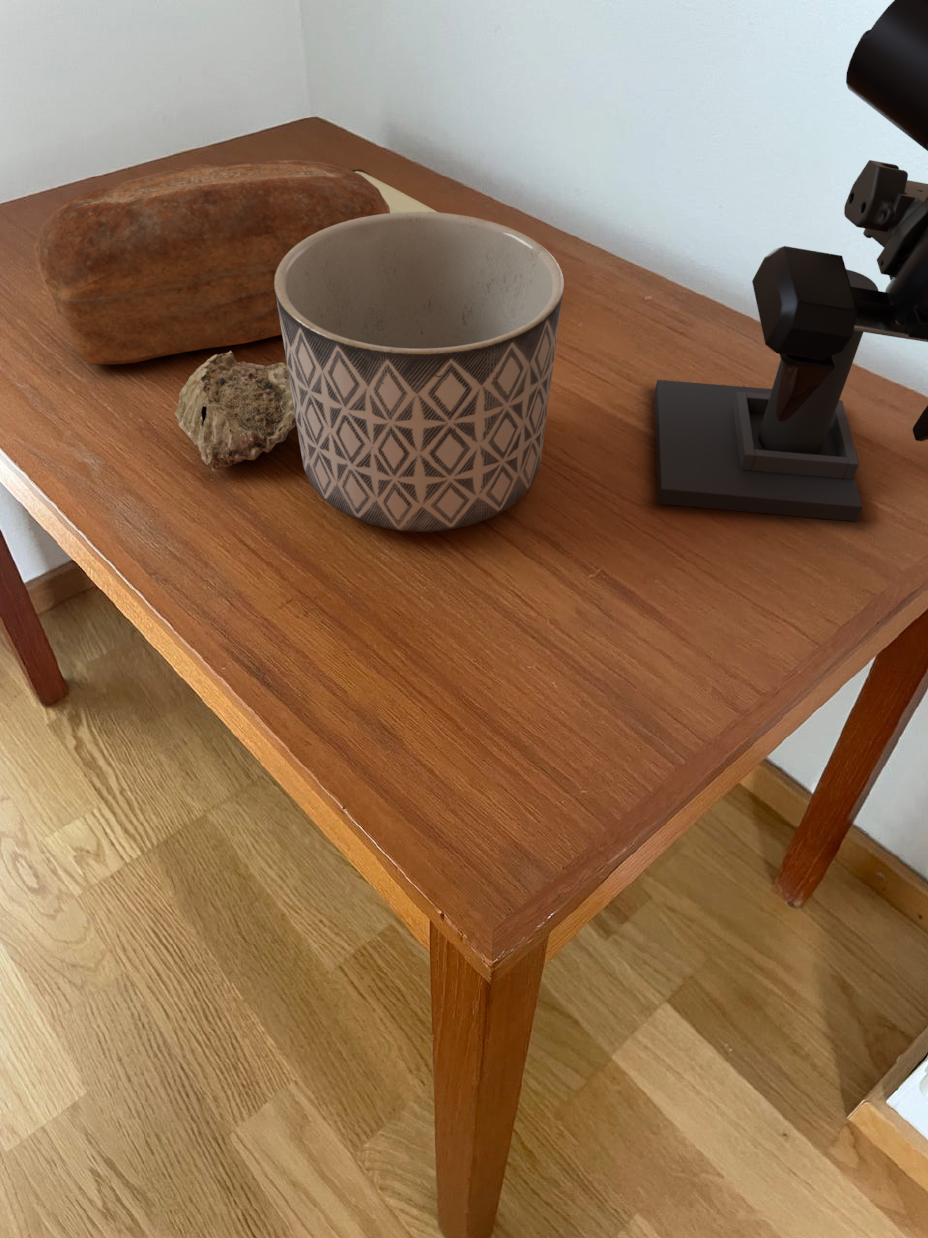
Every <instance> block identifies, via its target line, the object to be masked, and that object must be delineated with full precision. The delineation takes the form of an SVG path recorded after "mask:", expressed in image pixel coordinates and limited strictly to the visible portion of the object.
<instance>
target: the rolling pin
mask: <svg viewBox="0 0 928 1238" xmlns="http://www.w3.org/2000/svg"><path fill="white" fill-rule="evenodd" d="M347 169H348V170H351V171H353V172H356V173H358V174H361V175H362V176H363V177H364V178H365V179H367V180H368V181H369V182H370V183H372V184H373V185H374V186H375V187H376V188H378V189H379V191H380V193H381V195H382V197H383V198H384V200H385V201H386V202H387V204H388V205H389V209H390V213H398V212H438V211H436V209H433V208H431V207H429V206H428V205H426V204H424V203H422V202H420V201H418V200H416V199H415V198H413V197H411V196H409V195H407V194H405V193H403V192H402V191H400V190H398V189H396V188H395V187H392V186H390V185H388V184H387V183H385V182H382V181H381V180H379V179H377V178H375V177H373V176H372V175H371V174H370V173H368V172H367V171H366V170H364V169H363V168H360V167H355V168H353V167H352V168H347Z"/></svg>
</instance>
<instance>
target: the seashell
mask: <svg viewBox="0 0 928 1238" xmlns="http://www.w3.org/2000/svg"><path fill="white" fill-rule="evenodd" d="M173 414H174V415H175V416H176V418H177V421H178V427H179V428H180V429H181V430H183V432H184V433H185V434H186V436H187V437H188V438H189V439H190V441H192V442H193V444H194V447H196V448H197V449H198V450H199V452H200V458H201V460H202V462H204V464H205V465H206V466H207V467H208V468H210V469H211V470H212V472H215V473H217V472H218V471H220V470H221V469H223V468H224V467H225V468H227V467H231V466H232V465H235V464H238V463H241V462H243V461H244V460H249V461H254V460H256V459H257V458H258V457H259V456H260V455H261V454H262V453H263V452H264V453H266V454H269V453H270V452H271V451H272V450H273V448H274V447H275V446H276V445H277V444H278V443H283V442H284V441H285V440H286V438H287V437H288V433H289V432H290V431H291V430H292V429H294V428H297V424H296V417H295V411H294V405H293V399H292V392H291V386H290V380H289V374H288V368H287V364H286V363H285V362H277V363H274V364H270V365H267V366H265V365H264V364H263V365H262V364H255V363H253V362H245V361H244V360H243V361H241V362H238V361H237V360H236V358H235V355H234V353H233V352H232V350H229V352H224V353H219V354H214V355H213V356H210V358H208V359H206V361H205V362H204V363H202V364H201V365H200V366H198V368H196V369H195V371H194V372H193V373H192V374H191V375H190V376H189V378H188V380H187V381H186V383H185V384H184V386H183V387H182V388H181V389H180V392H179V394H178V405H177V407H176V409H175V411H174V413H173Z"/></svg>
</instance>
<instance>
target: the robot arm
mask: <svg viewBox="0 0 928 1238" xmlns="http://www.w3.org/2000/svg"><path fill="white" fill-rule="evenodd" d="M845 74H846V75H845V84H846V87H847V89H848V90H849V91H850V92H852V93H853V94H854V95H855V96H856V97H858V98H859V99H860V100H862V101H863V102H864V103H866V104H867V105H868V106H870V108H872V109H873V110H874V111H876V112H877V113H878V114H880V115H881V116H882V117H884V119H886V120H887V121H889V122H890V123H891V124H892V125H893V126H895V127H896V128H897V129H899V130H900V131H901V132H903V133H904V134H905V135H907V136H908V137H909V138H910V139H911V140H913V141H914V142H915V143H917V144H918V145H919V146H920V147H922V148H923V149H924V150H925V151H927V152H928V0H893V1H892V2H891V3H890V4H889V5H888V6H887V7H886V9H885V10H884V11H883V12H882V14H881V15H880V16H879V17H878V18H877V20H876V21H875V22H874V24H873V25H872V27H871V28H870V29H868V30H866V31H865V32H863V34H862V35H861V36H860V39H859V41H858V42H857V44H856V46H855V48H854V51H853V52H852V55H851V58H850V60H849V63H848V66H847V70H846V73H845ZM908 178H909V173H908V172H907V171H906V170H904V169H900V167H899V166H898V165H897V164H894V163H888V162H882V161H878V160H872V159H868V161H867V163H866V164H865V166H864V167H863V169H862V170H861V171H860V173H859V175H858V176H857V178H856V179H855V181H854V183H853V184H852V186H851V189H850V191H849V194H848V197H847V199H846V201H845V204H844V208H843V209H844V210H843V211H844V212H843V215H844V217H845V219H847V220H848V221H849V222H850V223H852V224H853V225H854V226H855V227H856V228H861V229H864V230H863V232H862V234H863V236H864V237H865V238H867V239H873V240H874V241H875V242H877V243H878V244H879V245H880V246H881V247H883V249H882V251H881V252H880V254H879V255H878V256H877V259H876V263H877V265H878V269H879V272H880V275H885V276H888V277H889V280H890V281H889V283H888V285H887V286H886V287H885V291H881V290H878V291H875V290H869V289H863V288H857V287H851V285H850V282H849V278H848V275H847V271H846V269H847V268H846V265H845V260H844V257H843V255H839V254H836V253H835V254H834V253H828V252H821V251H817V250H811V249H805V248H798V247H792V246H787V245H784V246H780V247H777V248H774V249H773V250H771V251H770V252H769V253H768V254H767V255H766V256H764V258H763V260H762V261H761V264H760V265H759V267H758V269H757V271H756V272H755V275H754V277H753V279H752V280H751V283H752V288H753V292H754V297H755V301H756V307H757V311H758V316H759V321H760V326H761V330H762V336H763V340H764V344H765V345H766V346H767V348H769V349H770V350H771V351H772V352H774V353H776V354H778V355H779V357H780V361H781V360H782V361H783V367H782V373H781V379H780V386H779V392H778V398H777V404H776V414H777V419H778V421H781V422H785V421H786V420H787V419H788V418H790V417H791V416H792V415H793V414H795V413H796V412H797V411H798V409H799V408H800V407H801V406H802V405H803V404H804V403H805V402H806V400H807V399H808V398H809V397H810V396H811V395H812V394H813V393H814V392H815V390H816V389H817V388H818V387H819V386H820V385H821V384H822V383H823V382H824V380H825V379H826V378H827V377H828V376H829V375H830V374H831V373H832V371H833V370H834V369H835V368H836V365H835V361H834V357H833V355H835V354H837V353H840V352H842V351H843V349H844V348H845V347H846V345H847V344H848V342H849V341H850V339H851V338H852V336H853V331H860V332H863V333H865V334H866V333H867V334H874V335H880V336H887V337H892V338H893V337H894V338H897V339H898V338H899V339H905V340H911V341H916V342H917V341H918V342H924V343H928V183H926V182H919V181H915V180H908ZM912 434H913V437H914V440H915V441H917V442H925V441H927V440H928V405H927V406H926V407H925V408H924V409H923V411H922V413H921V415H919V416H918V419H917V420H916V422H915V424H914V425H913V427H912Z"/></svg>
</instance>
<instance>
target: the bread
mask: <svg viewBox="0 0 928 1238" xmlns="http://www.w3.org/2000/svg"><path fill="white" fill-rule="evenodd" d="M348 169H349V168H346V167H343V166H339V165H335V164H331V163H325V162H321V161H315V160H304V159H303V160H302V159H276V160H275V159H271V160H269V159H268V160H247V161H229V162H226V161H225V162H210V163H201V164H200V163H199V164H193V165H192V164H191V165H187V166H181V167H177V168H172V169H169V170H164V171H159V172H156V173H151V174H148V175H144V176H141V177H138V178H133V179H131V180H127V181H122V182H120V183H119V182H118V183H115V184H112V185H108V186H105V187H102V188H99V189H95V190H93V191H89V192H85V193H82V194H79V195H77V196H75V197H73V198H71V199H69V200H67V201H65V202H64V203H62V204H61V205H60V206H59V207H58V208H56V209H55V210H53V212H52V213H50V214H49V217H48V218H47V219H46V220H45V222H44V223H43V224H42V225H41V227H40V230H39V232H38V234H37V236H36V238H35V242H34V246H33V254H34V259H35V263H36V267H37V270H38V272H39V275H40V278H41V280H42V282H43V284H44V286H45V288H46V290H47V292H48V294H49V296H50V298H51V300H52V301H53V303H54V307H55V309H56V313H57V315H58V318H59V321H60V323H61V325H62V328H63V330H64V332H65V334H66V336H67V338H68V340H69V342H70V345H72V347H73V350H74V351H75V353H76V354H77V355H78V356H79V358H81V359H83V361H85V362H87V363H89V364H90V365H100V366H101V365H103V366H105V365H108V366H109V365H127V364H136V363H141V362H145V361H149V360H153V359H156V358H162V357H166V356H170V355H175V354H177V355H178V354H183V353H188V352H189V353H190V352H193V351H200V350H207V349H212V348H219V347H220V348H221V347H227V346H234V345H241V344H248V343H252V342H256V341H261V340H264V339H265V340H266V339H268V338H273V337H277V336H282V330H281V324H280V318H279V312H278V305H277V299H276V293H275V285H274V280H275V274H276V271H277V268H278V266H279V264H280V262H281V261H282V259H283V258H284V257H285V255H286V254H287V253H288V252H289V251H290V250H291V249H292V248H293V247H294V246H296V245H297V244H298V243H300V242H301V241H302V240H304V239H306V238H307V237H309V236H311V235H313V234H315V233H316V232H319V231H321V230H323V229H325V228H328V227H330V226H333V225H336V224H339V223H342V222H346V221H349V220H353V219H357V218H362V217H367V216H372V215H379V214H387V213H390V209H389V205H388V204H387V202H386V201H385V200H384V198H383V197H382V195H381V193H380V191H379V189H378V188H376V187H375V186H374V185H373V184H372V183H370V182H369V181H368V180H367V179H365V178H364V177H363V176H362V175H361V174H358V173H356V172H353V171H351V170H348Z"/></svg>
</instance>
